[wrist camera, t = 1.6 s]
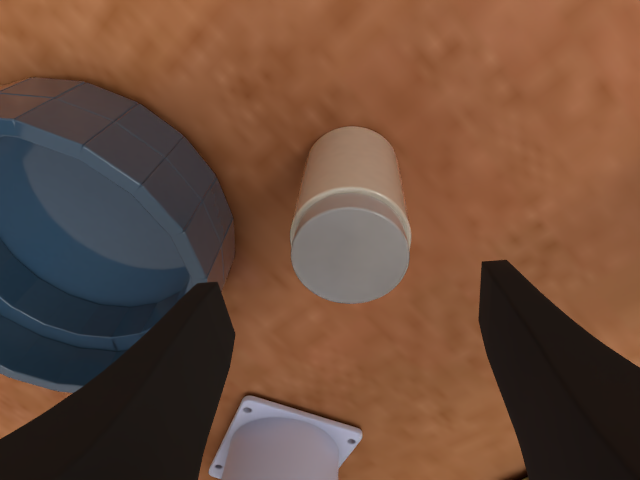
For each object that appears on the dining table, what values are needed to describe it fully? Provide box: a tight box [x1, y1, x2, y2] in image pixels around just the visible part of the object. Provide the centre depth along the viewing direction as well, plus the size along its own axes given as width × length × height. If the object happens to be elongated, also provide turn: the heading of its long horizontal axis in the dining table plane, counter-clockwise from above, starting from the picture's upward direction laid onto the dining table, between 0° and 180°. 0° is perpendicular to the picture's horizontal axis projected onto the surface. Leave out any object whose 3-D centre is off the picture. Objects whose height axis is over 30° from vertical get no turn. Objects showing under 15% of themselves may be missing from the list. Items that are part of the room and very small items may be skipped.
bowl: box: [0, 77, 235, 393], centre depth 20 cm, size 13×13×5 cm
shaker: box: [290, 126, 411, 304], centre depth 17 cm, size 4×4×6 cm
